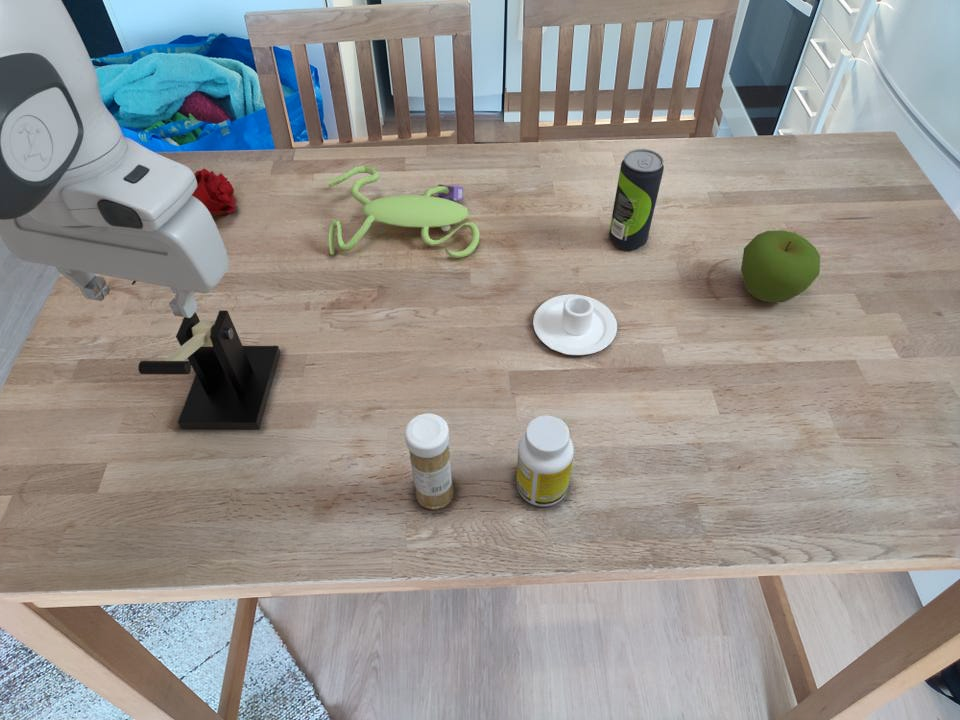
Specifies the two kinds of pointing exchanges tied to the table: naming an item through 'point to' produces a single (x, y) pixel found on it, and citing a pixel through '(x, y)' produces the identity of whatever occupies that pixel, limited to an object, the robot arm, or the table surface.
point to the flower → (214, 193)
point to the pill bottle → (544, 461)
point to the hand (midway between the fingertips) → (142, 304)
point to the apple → (779, 265)
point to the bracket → (227, 379)
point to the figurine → (407, 212)
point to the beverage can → (635, 198)
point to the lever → (181, 353)
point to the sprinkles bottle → (430, 460)
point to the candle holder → (575, 324)
